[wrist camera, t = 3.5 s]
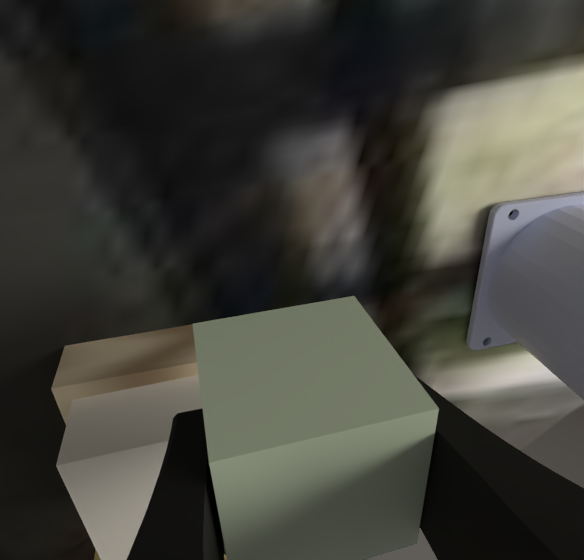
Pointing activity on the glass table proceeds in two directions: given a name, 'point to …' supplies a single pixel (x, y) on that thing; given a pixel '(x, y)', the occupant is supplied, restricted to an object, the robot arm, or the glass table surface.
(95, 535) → the slab top
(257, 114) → the glass table surface
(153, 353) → the slab bottom
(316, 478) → the block
